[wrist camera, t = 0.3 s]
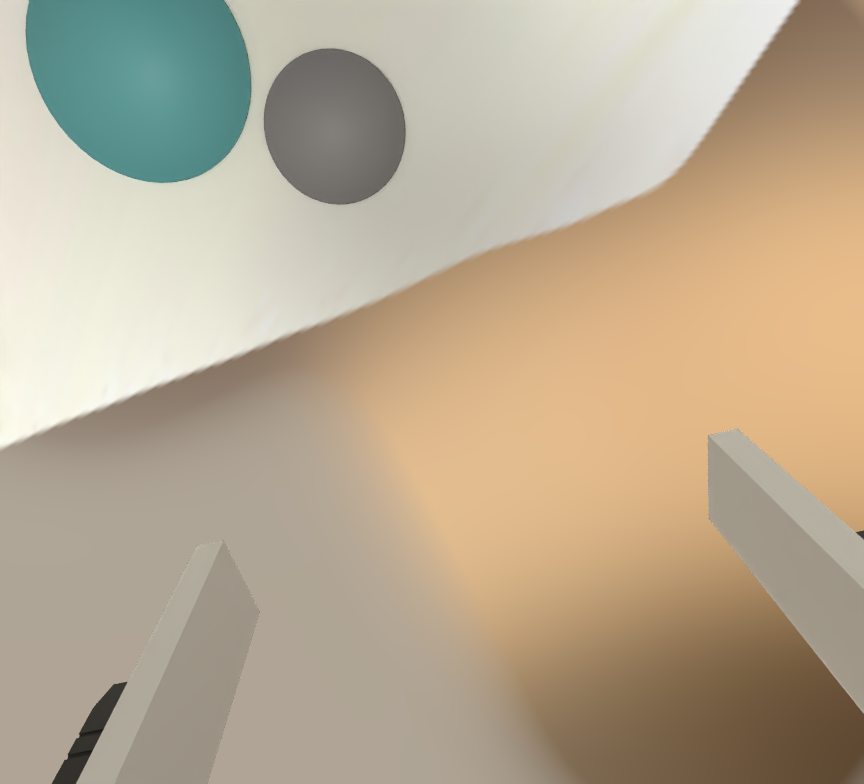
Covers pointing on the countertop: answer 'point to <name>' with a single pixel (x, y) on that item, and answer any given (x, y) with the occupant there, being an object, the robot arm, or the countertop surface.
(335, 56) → the disc
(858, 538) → the robot arm
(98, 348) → the countertop surface
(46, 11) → the disc
